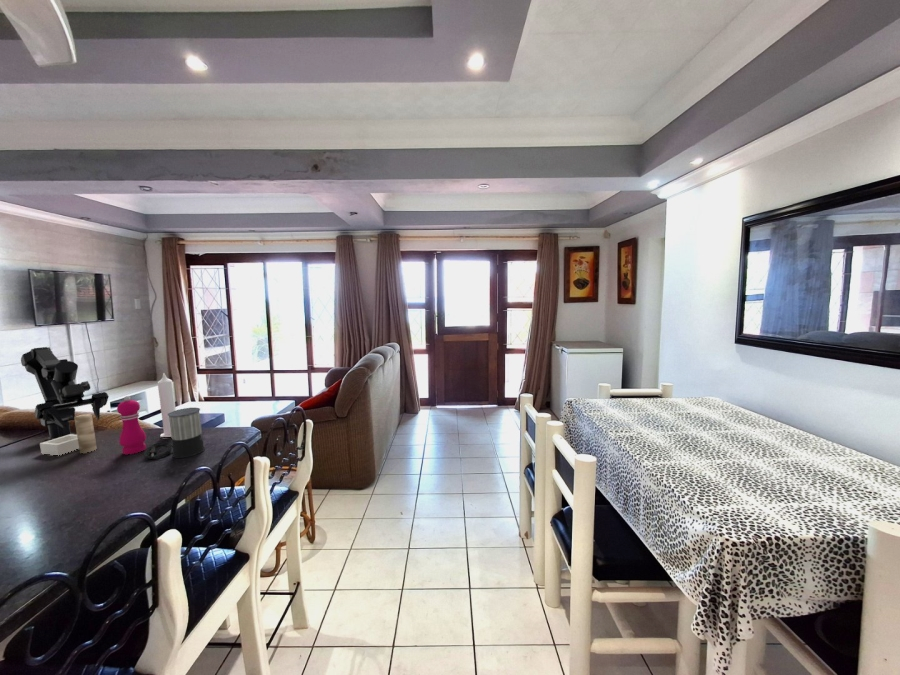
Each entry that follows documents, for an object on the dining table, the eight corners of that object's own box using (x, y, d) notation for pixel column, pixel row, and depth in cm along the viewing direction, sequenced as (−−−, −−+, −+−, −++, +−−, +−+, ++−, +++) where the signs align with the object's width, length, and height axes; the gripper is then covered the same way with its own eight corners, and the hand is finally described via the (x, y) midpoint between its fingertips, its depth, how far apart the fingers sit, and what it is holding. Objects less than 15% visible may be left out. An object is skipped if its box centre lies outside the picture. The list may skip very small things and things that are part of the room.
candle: (186, 432, 148) (179, 371, 145) (168, 439, 142) (160, 375, 139) (174, 431, 151) (166, 370, 148) (155, 437, 144) (147, 374, 141)
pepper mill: (153, 447, 134) (145, 393, 132) (134, 455, 127) (126, 399, 125) (135, 446, 135) (127, 393, 133) (115, 455, 128) (107, 399, 126)
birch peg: (76, 453, 131) (71, 417, 130) (91, 447, 136) (86, 413, 134) (85, 453, 130) (79, 418, 129) (100, 448, 135) (94, 414, 133)
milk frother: (208, 451, 128) (203, 410, 127) (151, 468, 117) (144, 423, 115) (197, 442, 138) (192, 403, 136) (142, 456, 126) (137, 414, 125)
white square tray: (41, 454, 132) (39, 443, 131) (72, 444, 140) (70, 434, 140) (58, 456, 129) (56, 445, 129) (88, 445, 138) (87, 435, 137)
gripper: (31, 381, 126) (47, 417, 122) (102, 371, 142) (119, 402, 138) (28, 401, 131) (43, 436, 126) (97, 389, 147) (113, 419, 142)
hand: (81, 422), depth 133 cm, fingers open, 9 cm apart
